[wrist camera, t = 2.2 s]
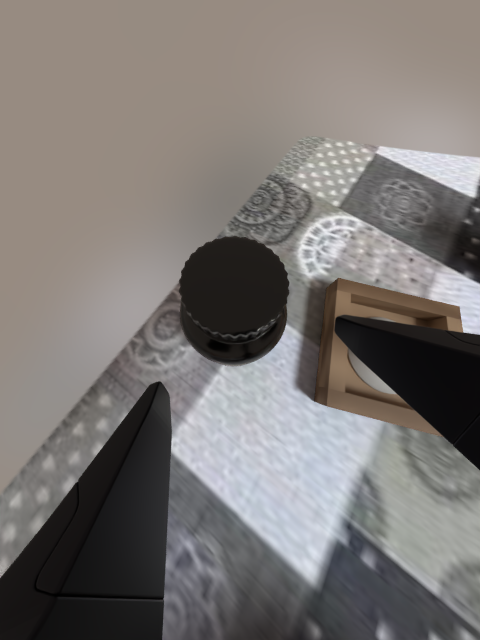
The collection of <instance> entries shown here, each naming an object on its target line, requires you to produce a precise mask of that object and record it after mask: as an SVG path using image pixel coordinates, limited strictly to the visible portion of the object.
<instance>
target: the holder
mask: <svg viewBox="0 0 480 640" xmlns="http://www.w3.org/2000/svg"><path fill="white" fill-rule="evenodd" d="M344 314H345V315H352V316H358V317H365V318H371V319H378V320H384V321H391V322H397V323H404V324H410V325H417V326H423V327H430V328H436V329H442V330H449V331H456V332H463V328H462V321H461V314H460V307H458V306H454V305H450V304H446V303H442V302H437V301H433V300H429V299H425V298H421V297H416V296H412V295H408V294H404V293H400V292H395V291H391V290H387V289H383V288H379V287H374V286H370V285H366V284H362V283H358V282H353V281H349V280H345V279H341V278H338V279H336V280H335V281H334V282H333V283H332V284H331V285H330V286H329V287H327V289H326V298H325V307H324V316H323V325H322V334H321V343H320V352H319V362H318V371H317V380H316V389H315V398H314V402H317V403H320V404H322V405H325V406H328V407H332V408H336V409H339V410H343V411H347V412H351V413H355V414H358V415H362V416H366V417H370V418H373V419H377V420H381V421H385V422H389V423H392V424H396V425H400V426H404V427H407V428H411V429H415V430H419V431H423V432H426V433H430V434H434V435H438V436H441V437H443V436H442V435H441V434H440V433H439V432H438V431H437V430H436V429H435V428H433V427H432V426H431V425H430V424H429V423H428V422H427V421H426V420H425V419H424V418H423V417H421V416H420V415H419V414H418V413H417V412H416V411H415V410H414V409H413V408H412V407H411V406H409V405H408V404H407V403H406V402H405V401H404V400H403V399H402V398H401V397H400V396H399V395H397V394H396V393H395V392H394V391H393V390H392V389H391V388H390V387H389V386H388V385H387V384H385V383H384V382H383V381H382V380H381V379H380V378H379V377H378V376H377V375H376V374H375V373H373V372H372V371H371V370H370V369H369V368H368V367H367V366H366V365H365V364H364V363H363V362H361V361H360V360H359V359H358V358H357V357H356V356H355V355H354V354H353V353H352V352H351V350H350V349H349V348H348V347H347V346H346V345H345V344H344V343H343V342H342V340H341V339H340V338H339V337H338V336H337V335H336V333H335V331H334V327H335V319H336V317H338V316H340V315H344Z"/></svg>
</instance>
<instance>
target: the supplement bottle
mask: <svg viewBox="0 0 480 640" xmlns="http://www.w3.org/2000/svg"><path fill="white" fill-rule="evenodd" d="M181 273H182V276H181V278H180V280H179V283H180V286H181V287H180V290H179V292H180V294H181V296H182V298H181V307H180V320H181V325H182V329H183V332H184V334H185V336H186V338H187V340H188V341H189V343H190V344H191V345H192V346H193V348H194V349H195V350H196V351H197V352H199V353H200V354H201V355H202V356H204V357H205V358H207V359H209V360H211V361H213V362H216V363H219V364H222V365H225V366H241V365H245V364H248V363H251V362H254V361H256V360H258V359H260V358H262V357H263V356H265V355H266V354H267V353H269V352H270V351H271V350H272V349H273V348H274V347H275V346H276V344H277V343H278V342H279V340H280V338H281V337H282V335H283V332H284V330H285V326H286V321H287V307H286V304H287V297H288V295H289V290H288V286H289V281H288V279H287V276H288V273H287V272H286V271H285V269H284V264H283V263H282V262H281V261H280V259H279V256H277V255H276V254H274V253H273V251H272V250H271V249H269V248H267V247H266V246H265V245H264V244H261V243H258V242H257V241H255V240H250V239H248V238H246V237H241V238H240V237H237V236H234V237H223V238H221V239H215V240H213V241H212V242H207V243H205V245H204V246H202V247H199V248H198V249H197V250H196V252H194V253H192V254H191V256H190V258H189V260H187V261H186V262H185V267H184V268H183V270H182V271H181Z"/></svg>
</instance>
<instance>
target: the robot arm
mask: <svg viewBox="0 0 480 640" xmlns="http://www.w3.org/2000/svg"><path fill="white" fill-rule="evenodd" d="M334 331H335V333H336V335H337V336H338V337H339V338H340V339H341V340H342V342H343V343H344V344H345V345H346V346H347V347H348V348H349V349H350V350H351V352H352V353H353V354H354V355H355V356H356V357H357V358H358V359H359V360H360V361H361V362H363V363H364V364H365V365H366V366H367V367H368V368H369V369H370V370H371V371H372V372H373V373H375V374H376V375H377V376H378V377H379V378H380V379H381V380H382V381H383V382H384V383H385V384H387V385H388V386H389V387H390V388H391V389H392V390H393V391H394V392H395V393H396V394H397V395H399V396H400V397H401V398H402V399H403V400H404V401H405V402H406V403H407V404H408V405H409V406H411V407H412V408H413V409H414V410H415V411H416V412H417V413H418V414H419V415H420V416H421V417H423V418H424V419H425V420H426V421H427V422H428V423H429V424H430V425H431V426H432V427H433V428H435V429H436V430H437V431H438V432H439V433H440V434H441V435H442V436H443V437H444V438H445V439H447V440H448V441H449V442H450V443H451V444H453V446H454V447H455V448H456V449H457V450H458V451H459V452H460V453H462V454H463V455H464V456H465V457H466V458H467V459H468V460H469V461H470V462H471V463H472V464H474V465H475V466H476V467H477V468H478V469H479V470H480V335H477V334H470V333H463V332H456V331H449V330H442V329H436V328H430V327H423V326H417V325H410V324H404V323H397V322H391V321H384V320H378V319H371V318H365V317H358V316H352V315H345V314H344V315H340V316H338V317H336V319H335V327H334ZM171 439H172V426H171V410H170V396H169V393H168V391H167V390H166V388H165V387H164V385H163V384H162V383H161V382H160V381H158V382H155V383H153V384H151V385H149V387H148V388H147V389H146V391H145V392H144V393H143V395H142V396H141V397H140V399H139V400H138V401H137V403H136V404H135V405H134V407H133V408H132V409H131V411H130V412H129V413H128V415H127V416H126V417H125V418H124V420H123V421H122V422H121V424H120V425H119V426H118V428H117V429H116V430H115V432H114V433H113V434H112V436H111V437H110V438H109V440H108V441H107V442H106V444H105V445H104V446H103V448H102V449H101V450H100V452H99V453H98V454H97V456H96V457H95V458H94V460H93V461H92V462H91V464H90V465H89V466H88V468H87V469H86V470H85V472H84V473H83V474H82V476H81V477H80V478H79V480H78V482H77V483H75V485H74V486H73V487H72V489H71V490H70V491H69V493H68V494H67V495H66V497H65V498H64V499H63V501H62V502H61V503H60V504H59V506H58V507H57V508H56V510H55V511H54V512H53V514H52V515H51V516H50V517H49V519H48V520H47V521H46V523H45V524H44V525H43V526H42V528H41V529H40V530H39V531H38V533H37V534H36V535H35V536H34V538H33V539H32V540H31V541H30V543H29V544H28V545H27V546H26V547H25V549H24V550H23V551H22V552H21V554H20V555H19V556H18V557H17V559H16V560H15V561H14V562H13V563H12V565H11V566H10V567H9V568H8V570H7V571H6V572H5V573H4V574H3V576H2V577H1V578H0V640H162V631H163V610H164V600H163V598H164V585H165V564H166V543H167V522H168V501H169V480H170V459H171Z"/></svg>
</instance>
